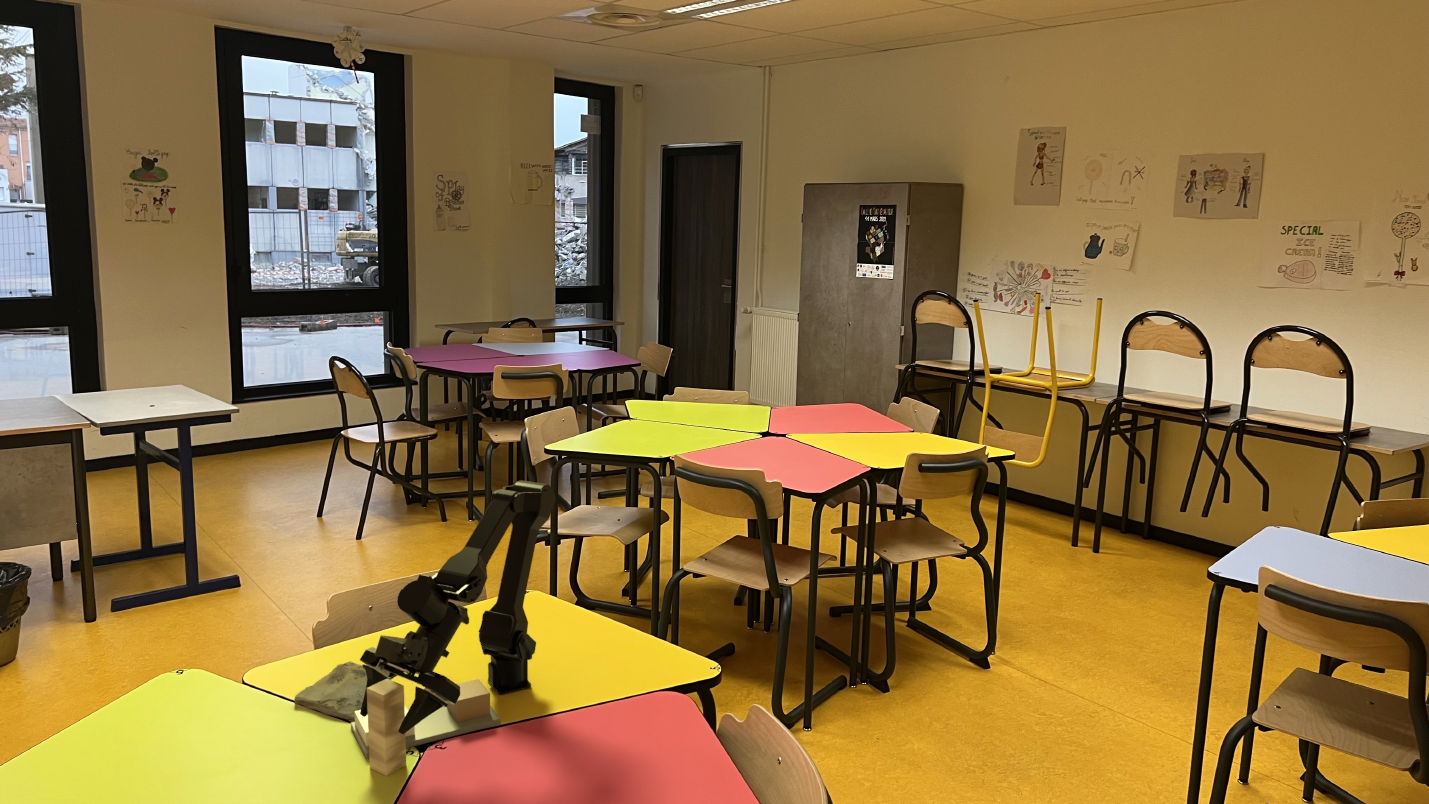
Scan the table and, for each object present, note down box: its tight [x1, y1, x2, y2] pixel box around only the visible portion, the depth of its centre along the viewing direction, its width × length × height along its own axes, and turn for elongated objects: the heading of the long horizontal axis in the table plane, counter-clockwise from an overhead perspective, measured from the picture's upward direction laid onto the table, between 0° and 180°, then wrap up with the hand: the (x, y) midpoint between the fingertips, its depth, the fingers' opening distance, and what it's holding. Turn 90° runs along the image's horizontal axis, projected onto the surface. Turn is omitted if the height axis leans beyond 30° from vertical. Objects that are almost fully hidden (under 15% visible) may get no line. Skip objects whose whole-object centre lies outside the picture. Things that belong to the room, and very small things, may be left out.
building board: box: [350, 678, 502, 759], centre depth 174 cm, size 23×11×5 cm, turn 122°
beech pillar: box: [367, 679, 407, 777], centre depth 161 cm, size 4×4×14 cm
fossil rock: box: [293, 660, 393, 722], centre depth 185 cm, size 18×15×2 cm
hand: (381, 724), depth 160 cm, fingers open, 9 cm apart
